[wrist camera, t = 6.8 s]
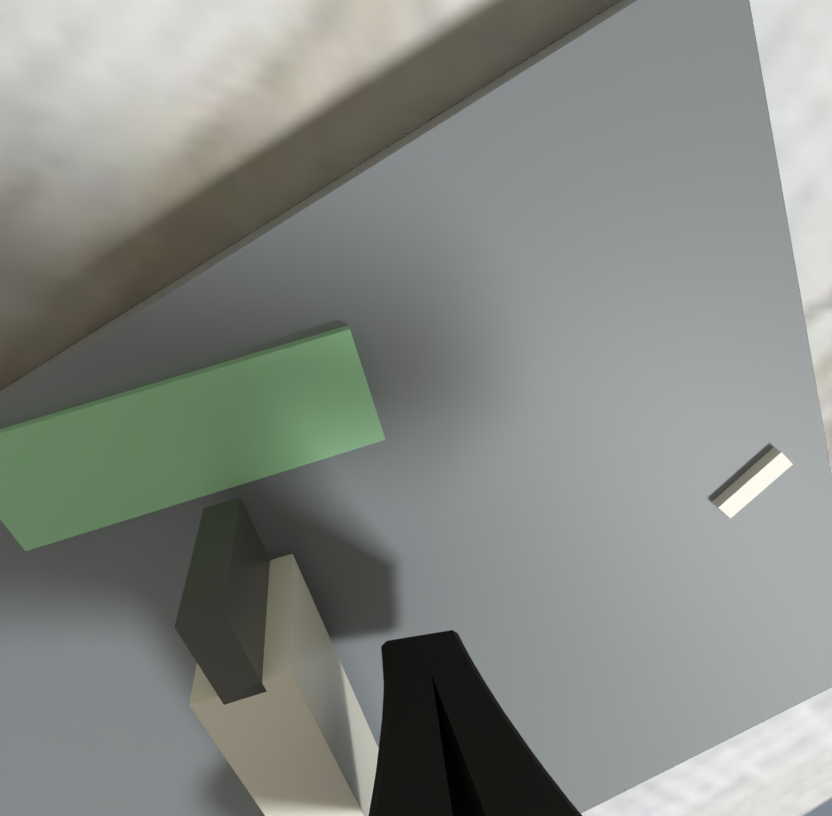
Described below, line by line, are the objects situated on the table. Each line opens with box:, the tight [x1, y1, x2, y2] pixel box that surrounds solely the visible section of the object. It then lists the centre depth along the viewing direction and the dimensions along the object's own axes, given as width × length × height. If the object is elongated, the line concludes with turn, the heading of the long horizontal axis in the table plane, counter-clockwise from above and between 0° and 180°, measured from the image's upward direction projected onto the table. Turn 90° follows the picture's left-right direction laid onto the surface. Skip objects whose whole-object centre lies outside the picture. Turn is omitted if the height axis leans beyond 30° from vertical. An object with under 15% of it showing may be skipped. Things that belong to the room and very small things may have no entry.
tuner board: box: [0, 0, 832, 816], centre depth 13 cm, size 20×18×1 cm
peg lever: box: [175, 498, 379, 816], centre depth 11 cm, size 12×4×3 cm, turn 12°
